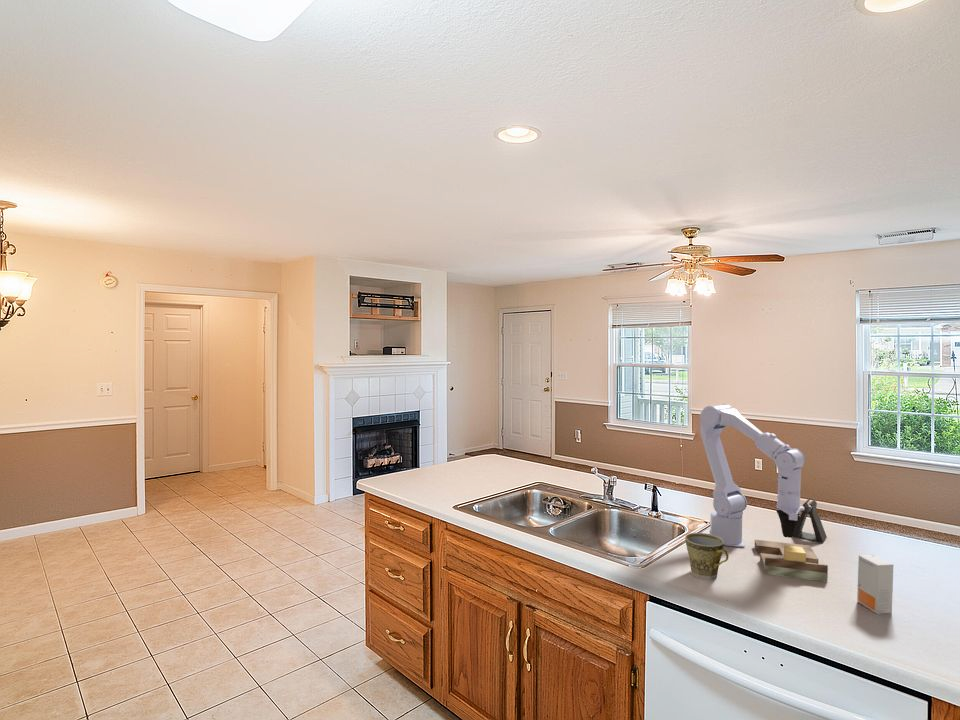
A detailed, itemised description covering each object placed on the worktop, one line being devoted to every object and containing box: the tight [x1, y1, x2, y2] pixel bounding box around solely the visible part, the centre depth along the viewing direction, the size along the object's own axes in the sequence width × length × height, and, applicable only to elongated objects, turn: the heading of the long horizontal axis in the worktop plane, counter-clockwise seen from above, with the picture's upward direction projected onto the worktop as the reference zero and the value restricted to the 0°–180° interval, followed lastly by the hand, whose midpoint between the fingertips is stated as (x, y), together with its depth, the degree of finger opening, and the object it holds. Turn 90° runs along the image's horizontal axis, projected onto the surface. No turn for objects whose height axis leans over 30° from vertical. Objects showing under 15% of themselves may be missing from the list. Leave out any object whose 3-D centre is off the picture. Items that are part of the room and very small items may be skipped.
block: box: [784, 545, 806, 562], centre depth 149 cm, size 4×4×4 cm
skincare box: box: [856, 554, 894, 615], centre depth 130 cm, size 6×4×12 cm
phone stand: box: [792, 498, 828, 544], centre depth 176 cm, size 9×6×12 cm, turn 47°
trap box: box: [754, 539, 829, 583], centre depth 156 cm, size 15×20×4 cm
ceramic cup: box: [684, 532, 729, 581], centre depth 147 cm, size 13×10×10 cm
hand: (787, 536), depth 157 cm, fingers closed
